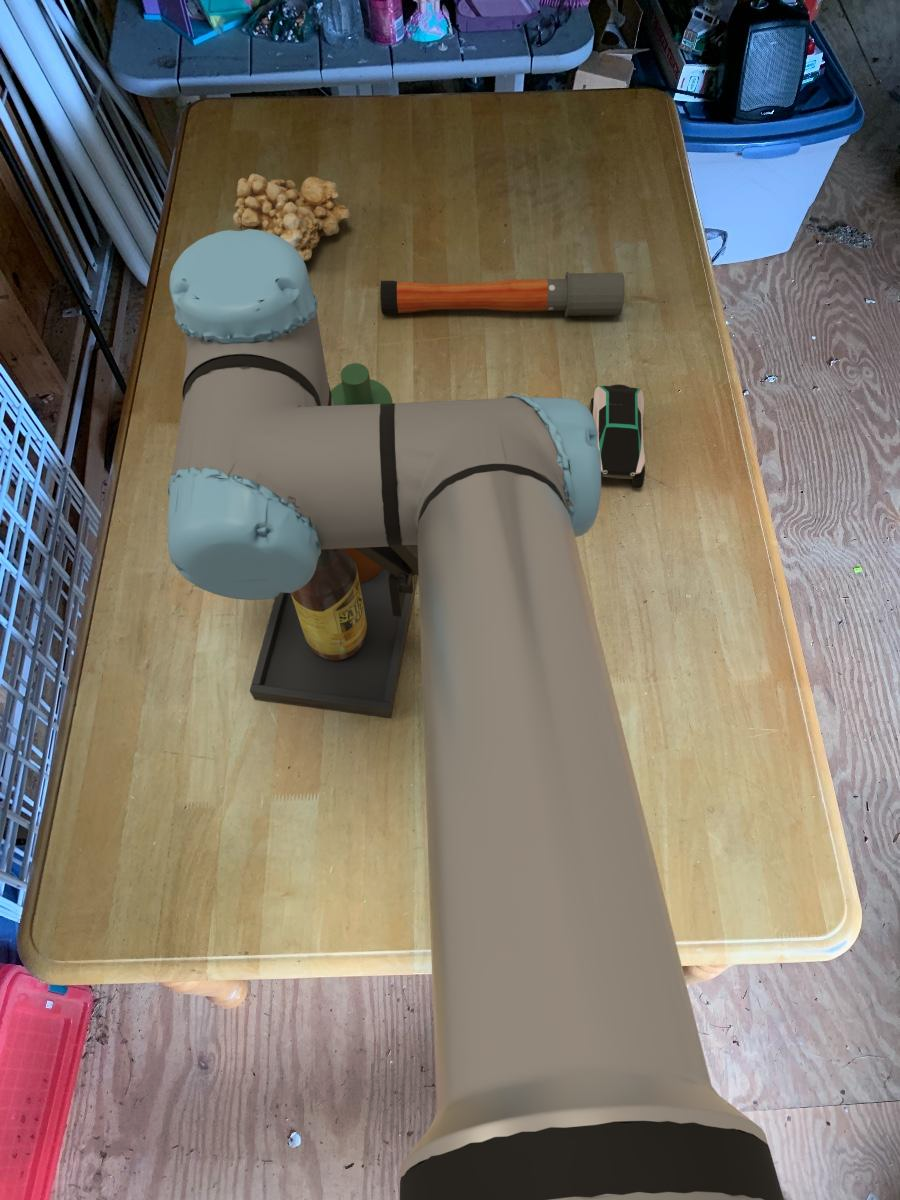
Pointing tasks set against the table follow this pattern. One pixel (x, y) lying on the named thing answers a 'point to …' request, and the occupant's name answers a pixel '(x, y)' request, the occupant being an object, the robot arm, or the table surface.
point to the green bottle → (359, 388)
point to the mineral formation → (290, 210)
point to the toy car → (620, 431)
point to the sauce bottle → (332, 607)
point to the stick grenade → (511, 295)
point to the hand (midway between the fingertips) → (326, 593)
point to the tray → (335, 684)
